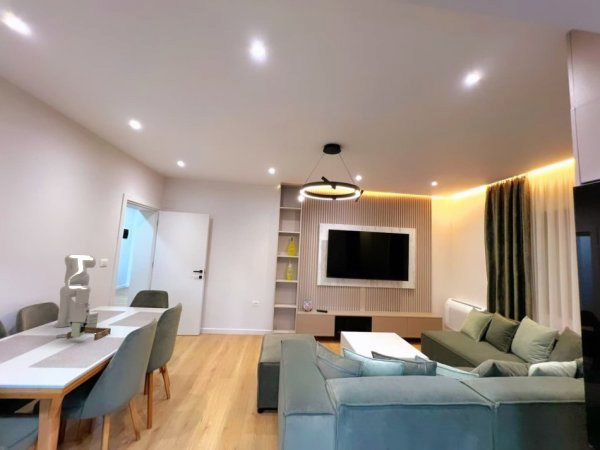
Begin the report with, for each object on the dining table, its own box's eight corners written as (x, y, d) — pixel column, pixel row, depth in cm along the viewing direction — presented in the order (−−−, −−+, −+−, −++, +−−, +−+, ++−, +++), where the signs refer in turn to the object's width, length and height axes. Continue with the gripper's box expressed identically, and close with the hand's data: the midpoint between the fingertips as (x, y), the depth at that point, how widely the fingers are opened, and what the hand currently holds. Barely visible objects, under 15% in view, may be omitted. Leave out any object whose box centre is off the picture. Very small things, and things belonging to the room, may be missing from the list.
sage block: (76, 334, 193) (78, 320, 193) (83, 334, 193) (85, 321, 193) (70, 336, 188) (72, 322, 188) (78, 336, 188) (80, 323, 189)
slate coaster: (62, 334, 202) (62, 333, 202) (73, 335, 202) (73, 334, 202) (52, 337, 194) (52, 337, 194) (64, 338, 194) (64, 337, 194)
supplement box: (80, 329, 214) (82, 313, 216) (90, 327, 221) (92, 311, 222) (86, 331, 212) (88, 314, 213) (96, 328, 218) (98, 312, 220)
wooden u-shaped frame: (83, 332, 209) (84, 326, 209) (110, 333, 209) (110, 328, 209) (66, 338, 194) (67, 332, 194) (95, 340, 194) (96, 334, 194)
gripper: (97, 304, 196) (94, 331, 194) (73, 303, 196) (69, 329, 194) (89, 307, 188) (86, 334, 187) (64, 305, 188) (60, 333, 187)
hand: (77, 331), depth 190 cm, fingers closed on sage block, 5 cm apart
